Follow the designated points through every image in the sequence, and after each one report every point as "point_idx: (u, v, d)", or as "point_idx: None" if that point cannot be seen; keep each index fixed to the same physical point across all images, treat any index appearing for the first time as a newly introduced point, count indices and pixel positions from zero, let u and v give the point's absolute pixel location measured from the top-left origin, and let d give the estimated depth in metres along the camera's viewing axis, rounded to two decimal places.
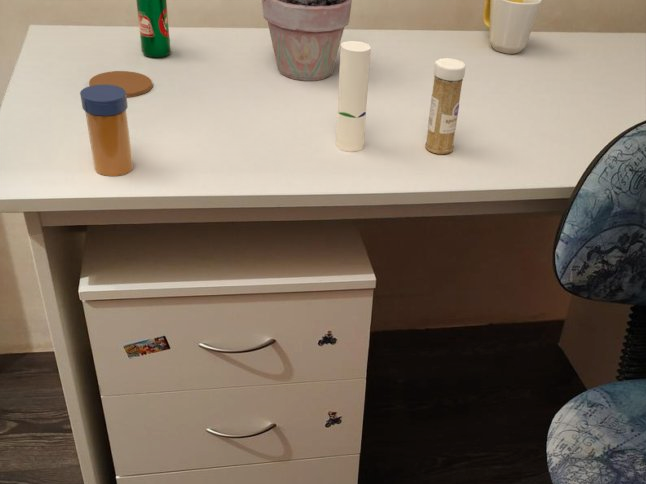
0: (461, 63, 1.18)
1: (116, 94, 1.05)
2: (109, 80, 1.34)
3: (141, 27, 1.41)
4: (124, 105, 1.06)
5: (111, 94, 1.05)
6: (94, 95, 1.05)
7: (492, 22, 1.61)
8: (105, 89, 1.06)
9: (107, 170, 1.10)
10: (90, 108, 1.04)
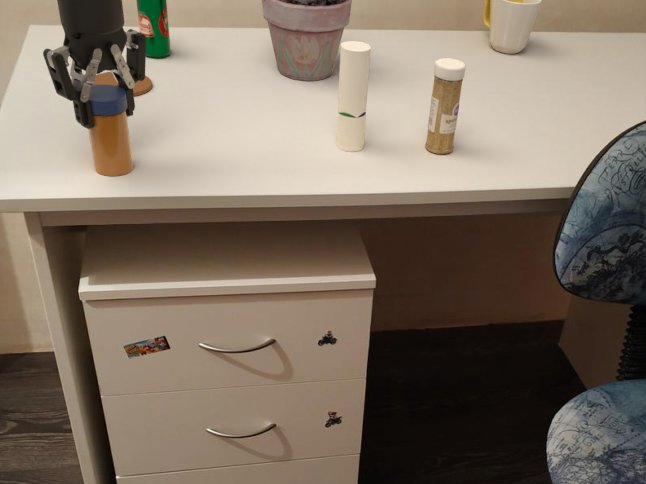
0: (461, 63, 1.18)
1: (116, 94, 1.05)
2: (109, 80, 1.34)
3: (141, 27, 1.41)
4: (124, 105, 1.06)
5: (111, 94, 1.05)
6: (94, 95, 1.05)
7: (492, 22, 1.61)
8: (105, 89, 1.06)
9: (107, 170, 1.10)
10: None
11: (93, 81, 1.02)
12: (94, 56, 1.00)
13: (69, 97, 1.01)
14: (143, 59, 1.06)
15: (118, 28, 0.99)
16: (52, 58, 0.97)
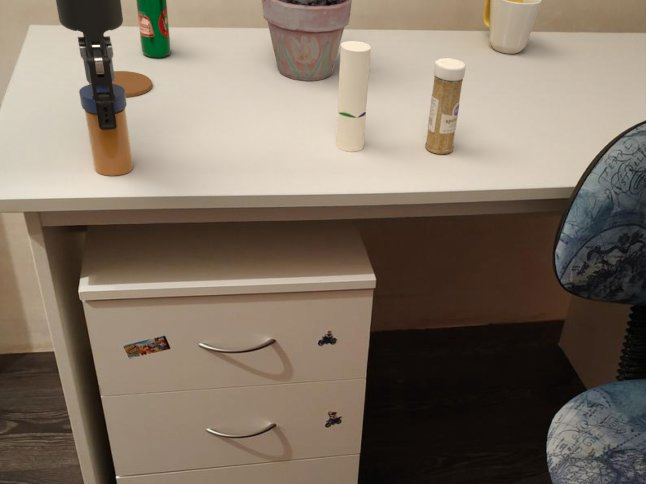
0: (461, 63, 1.18)
1: (113, 87, 1.06)
2: None
3: (141, 27, 1.41)
4: None
5: None
6: None
7: (492, 22, 1.61)
8: None
9: (107, 170, 1.10)
10: None
11: None
12: (112, 51, 1.01)
13: (114, 98, 1.01)
14: None
15: None
16: (104, 62, 0.97)
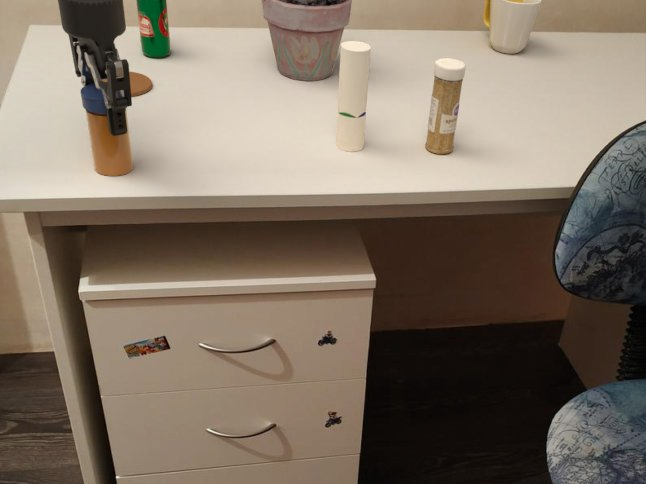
0: (461, 63, 1.18)
1: None
2: None
3: (141, 27, 1.41)
4: None
5: None
6: None
7: (492, 22, 1.61)
8: (94, 90, 1.05)
9: (107, 170, 1.10)
10: None
11: None
12: None
13: None
14: None
15: None
16: (124, 65, 0.98)
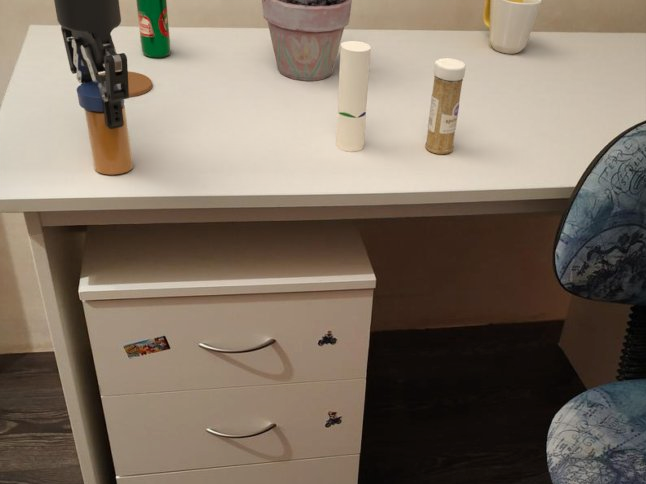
0: (461, 63, 1.18)
1: (88, 85, 1.06)
2: None
3: (141, 27, 1.41)
4: None
5: (92, 86, 1.06)
6: None
7: (492, 22, 1.61)
8: (95, 91, 1.05)
9: (107, 168, 1.10)
10: None
11: None
12: None
13: None
14: None
15: None
16: (122, 60, 0.98)
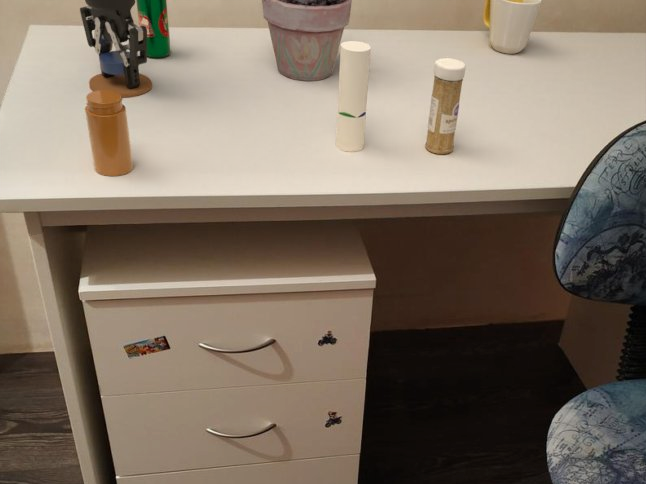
0: (461, 63, 1.18)
1: (107, 55, 1.31)
2: (109, 80, 1.34)
3: None
4: None
5: (111, 55, 1.31)
6: None
7: (492, 22, 1.61)
8: (115, 59, 1.30)
9: (107, 170, 1.10)
10: None
11: None
12: None
13: None
14: None
15: None
16: (143, 31, 1.25)
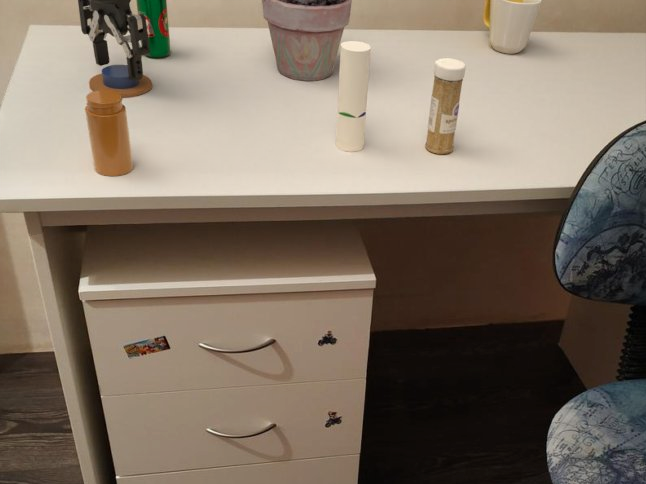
0: (461, 63, 1.18)
1: (109, 69, 1.32)
2: None
3: None
4: None
5: (113, 69, 1.32)
6: (126, 69, 1.33)
7: (492, 22, 1.61)
8: (117, 73, 1.31)
9: (107, 170, 1.10)
10: None
11: None
12: None
13: None
14: None
15: None
16: (142, 18, 1.23)
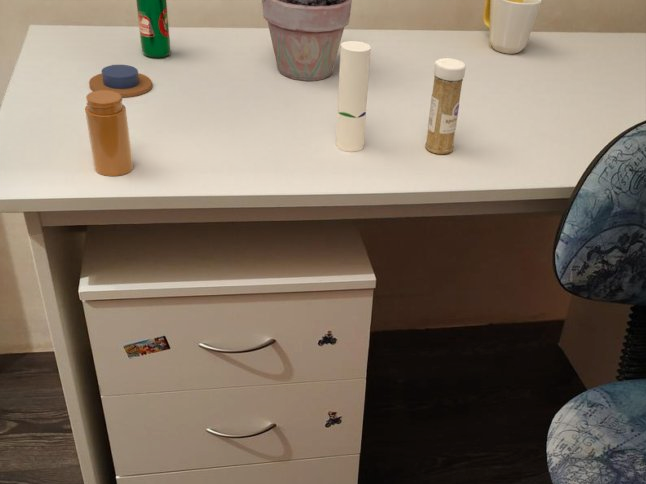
0: (461, 63, 1.18)
1: (109, 69, 1.32)
2: None
3: (141, 27, 1.41)
4: None
5: (113, 69, 1.32)
6: (126, 69, 1.33)
7: (492, 22, 1.61)
8: (117, 73, 1.31)
9: (107, 170, 1.10)
10: None
11: None
12: None
13: None
14: None
15: None
16: None
